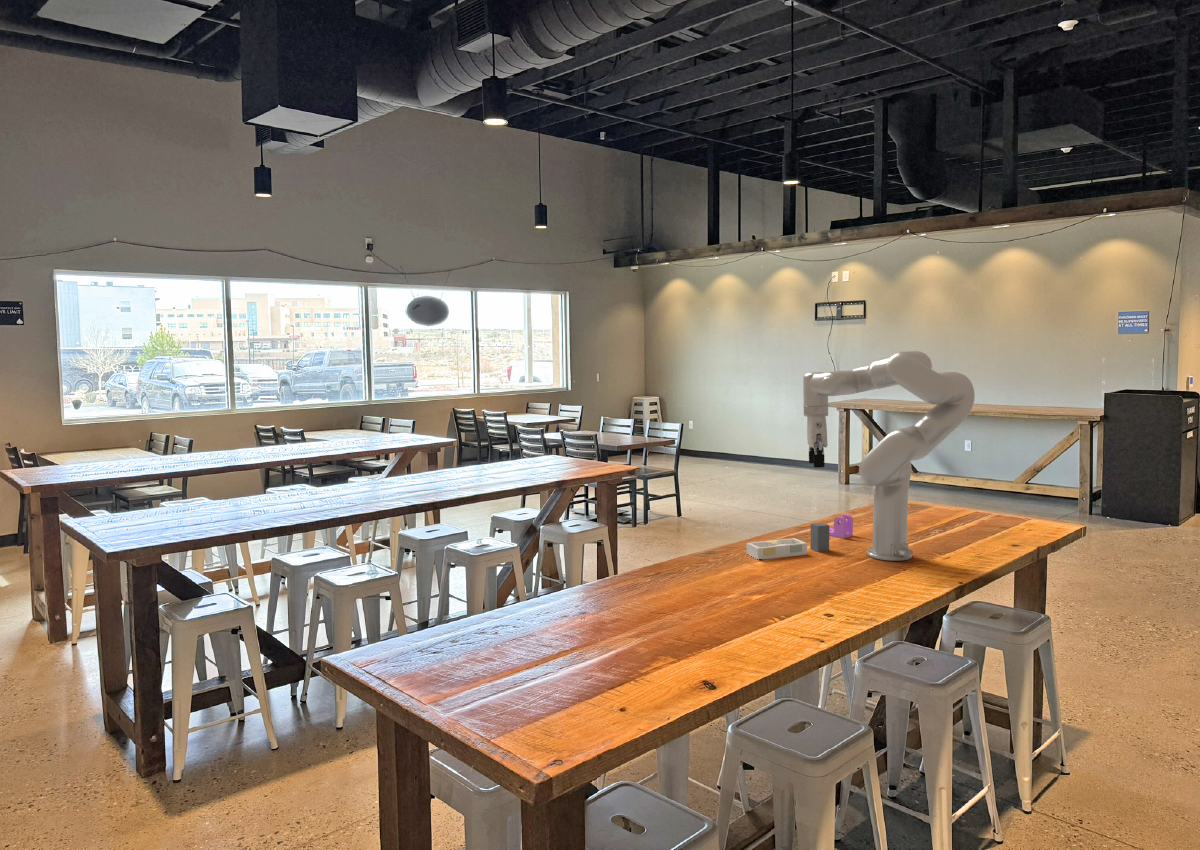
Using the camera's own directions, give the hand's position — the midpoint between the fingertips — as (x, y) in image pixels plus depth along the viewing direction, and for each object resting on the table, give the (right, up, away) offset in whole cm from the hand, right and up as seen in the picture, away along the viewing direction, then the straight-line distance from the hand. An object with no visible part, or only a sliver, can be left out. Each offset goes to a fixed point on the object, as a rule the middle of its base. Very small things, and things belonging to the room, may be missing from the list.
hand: (816, 465), depth 258 cm
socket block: (-15, -26, -13) cm, 33 cm away
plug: (-1, -26, -8) cm, 27 cm away
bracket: (+8, -24, +12) cm, 28 cm away
